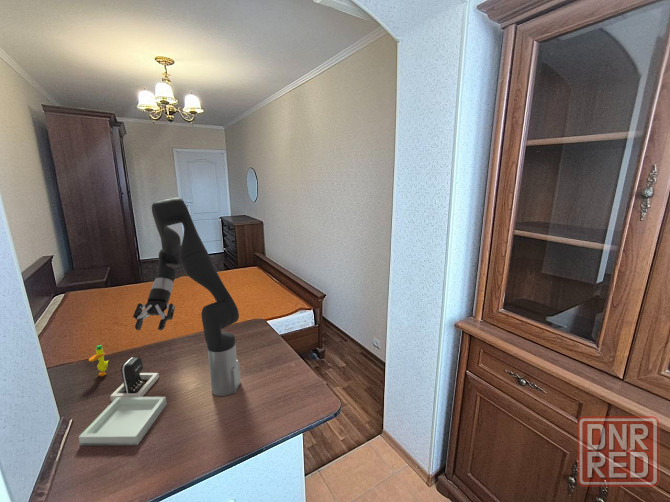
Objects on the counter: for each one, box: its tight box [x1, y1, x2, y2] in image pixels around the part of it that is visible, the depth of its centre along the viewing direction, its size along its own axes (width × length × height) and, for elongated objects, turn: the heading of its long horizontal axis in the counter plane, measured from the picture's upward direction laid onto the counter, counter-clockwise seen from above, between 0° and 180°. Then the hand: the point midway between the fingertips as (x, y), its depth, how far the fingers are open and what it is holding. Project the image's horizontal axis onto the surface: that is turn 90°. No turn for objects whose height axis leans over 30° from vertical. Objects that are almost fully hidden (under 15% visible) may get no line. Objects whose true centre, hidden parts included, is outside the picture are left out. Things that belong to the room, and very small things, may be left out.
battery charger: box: [120, 356, 145, 393], centre depth 108 cm, size 7×4×11 cm, turn 2°
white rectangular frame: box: [109, 372, 160, 402], centre depth 109 cm, size 9×12×2 cm
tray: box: [78, 396, 168, 447], centre depth 93 cm, size 16×16×3 cm
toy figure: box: [88, 344, 109, 377], centre depth 115 cm, size 7×4×12 cm, turn 166°
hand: (148, 329), depth 117 cm, fingers open, 8 cm apart
